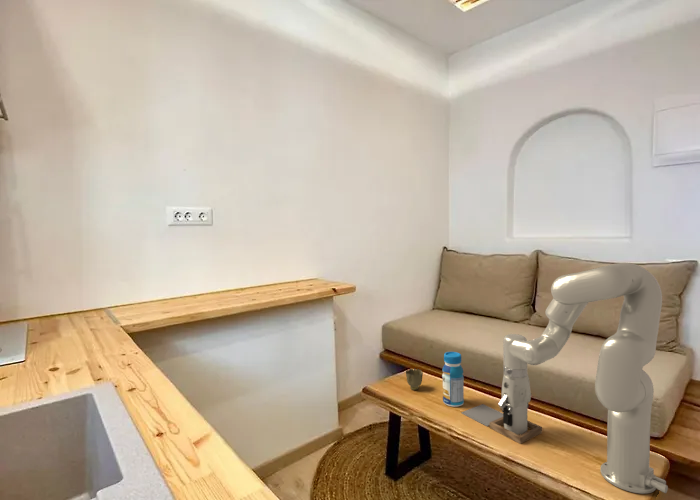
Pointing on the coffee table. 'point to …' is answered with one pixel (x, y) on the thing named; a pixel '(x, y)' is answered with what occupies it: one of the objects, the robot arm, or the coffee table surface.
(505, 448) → the coffee table surface
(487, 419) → the mat
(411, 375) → the cup
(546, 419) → the coffee table surface
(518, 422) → the can
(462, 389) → the beverage bottle
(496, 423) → the wooden picture frame
